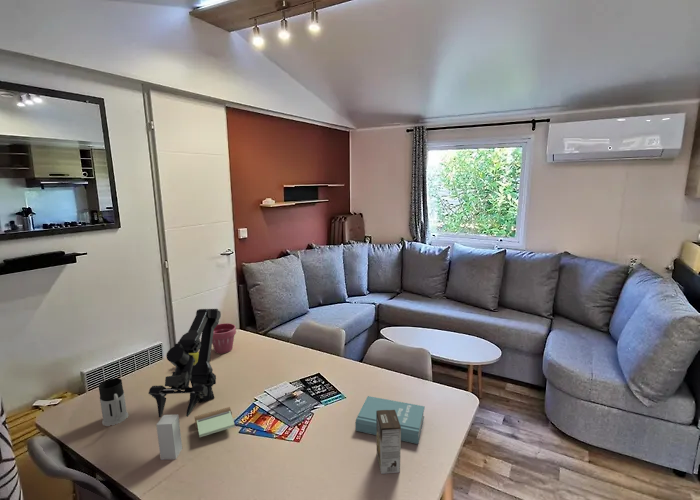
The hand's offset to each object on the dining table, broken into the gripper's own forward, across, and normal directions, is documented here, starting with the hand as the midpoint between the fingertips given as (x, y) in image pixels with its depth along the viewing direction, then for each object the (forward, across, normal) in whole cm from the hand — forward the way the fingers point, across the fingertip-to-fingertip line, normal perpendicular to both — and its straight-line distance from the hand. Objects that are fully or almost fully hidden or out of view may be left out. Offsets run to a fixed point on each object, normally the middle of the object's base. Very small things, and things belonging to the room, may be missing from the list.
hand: (173, 416), depth 126 cm
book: (+4, +76, +13) cm, 77 cm away
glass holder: (-2, -29, +18) cm, 34 cm away
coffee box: (+17, +72, -1) cm, 74 cm away
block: (+11, 0, +5) cm, 12 cm away
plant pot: (-45, -6, +60) cm, 75 cm away
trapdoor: (+1, +11, +11) cm, 16 cm away
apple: (-34, -17, +49) cm, 62 cm away
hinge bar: (-2, +8, +17) cm, 19 cm away
